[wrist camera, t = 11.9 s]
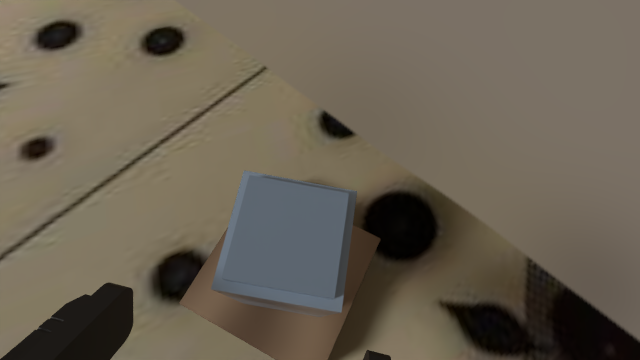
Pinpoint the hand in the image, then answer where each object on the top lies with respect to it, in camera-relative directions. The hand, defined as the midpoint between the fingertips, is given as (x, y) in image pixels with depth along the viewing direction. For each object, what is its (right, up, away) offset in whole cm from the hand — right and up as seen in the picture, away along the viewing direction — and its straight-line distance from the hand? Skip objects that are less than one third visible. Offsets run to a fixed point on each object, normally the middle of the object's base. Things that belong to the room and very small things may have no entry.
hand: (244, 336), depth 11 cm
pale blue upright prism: (0, -1, +12) cm, 12 cm away
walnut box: (0, -3, +16) cm, 17 cm away
